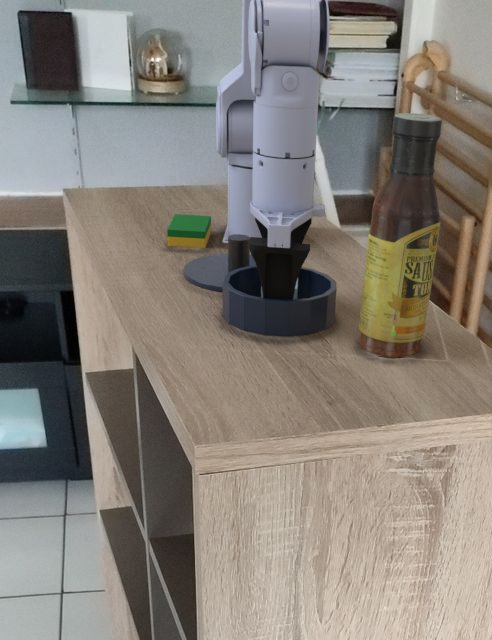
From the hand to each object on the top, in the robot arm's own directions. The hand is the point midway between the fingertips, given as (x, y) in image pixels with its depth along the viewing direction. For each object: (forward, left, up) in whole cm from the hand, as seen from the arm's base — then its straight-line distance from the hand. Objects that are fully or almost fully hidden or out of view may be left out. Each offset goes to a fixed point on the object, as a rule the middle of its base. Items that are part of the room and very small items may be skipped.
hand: (279, 302), depth 90 cm
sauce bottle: (+6, +11, -2) cm, 13 cm away
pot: (0, 0, -2) cm, 2 cm away
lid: (-12, -5, -1) cm, 13 cm away
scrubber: (-25, -12, -2) cm, 28 cm away
